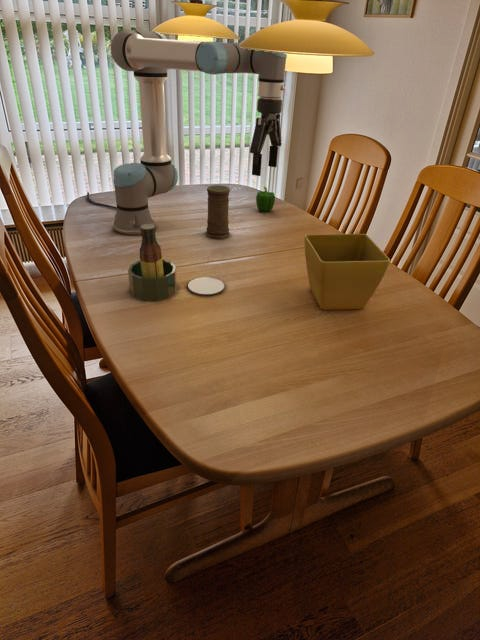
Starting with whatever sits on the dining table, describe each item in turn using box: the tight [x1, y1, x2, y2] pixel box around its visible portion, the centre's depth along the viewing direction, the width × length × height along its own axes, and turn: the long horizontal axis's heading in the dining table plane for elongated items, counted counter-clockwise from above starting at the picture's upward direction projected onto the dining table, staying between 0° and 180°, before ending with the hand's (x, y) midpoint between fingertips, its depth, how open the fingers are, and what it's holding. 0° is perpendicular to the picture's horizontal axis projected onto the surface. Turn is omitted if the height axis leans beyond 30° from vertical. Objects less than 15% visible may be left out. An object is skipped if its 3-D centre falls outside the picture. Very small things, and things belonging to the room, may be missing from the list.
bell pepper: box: [255, 186, 276, 213], centre depth 193 cm, size 8×8×10 cm
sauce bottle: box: [139, 224, 164, 278], centre depth 125 cm, size 6×6×20 cm
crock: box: [127, 258, 178, 302], centre depth 128 cm, size 13×13×7 cm
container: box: [205, 184, 231, 240], centre depth 164 cm, size 9×9×18 cm
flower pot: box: [304, 233, 391, 311], centre depth 126 cm, size 19×19×17 cm
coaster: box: [187, 276, 225, 297], centre depth 133 cm, size 11×11×1 cm
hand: (264, 170), depth 143 cm, fingers open, 13 cm apart
